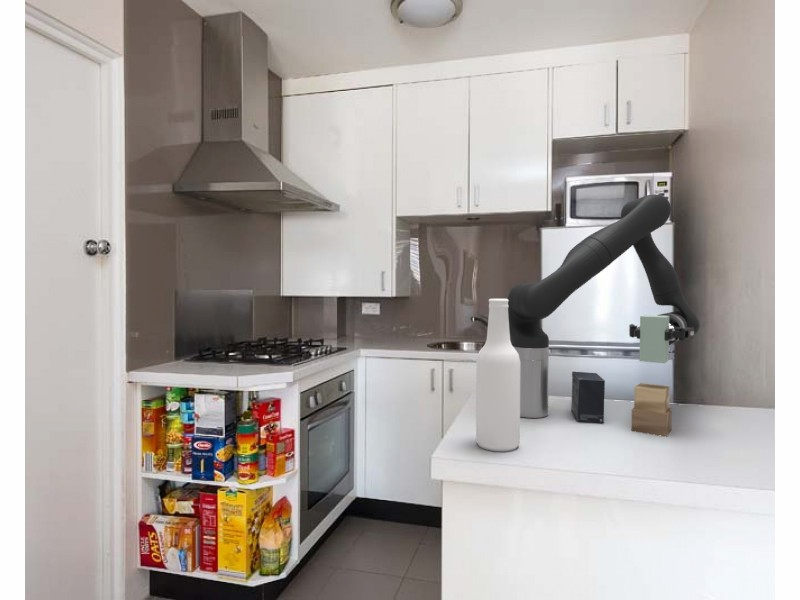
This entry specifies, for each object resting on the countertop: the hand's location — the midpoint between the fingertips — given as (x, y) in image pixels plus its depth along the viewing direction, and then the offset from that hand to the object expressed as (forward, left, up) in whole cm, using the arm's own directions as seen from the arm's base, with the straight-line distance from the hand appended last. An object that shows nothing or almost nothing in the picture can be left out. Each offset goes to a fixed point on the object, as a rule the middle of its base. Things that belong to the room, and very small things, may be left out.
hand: (652, 334), depth 106 cm
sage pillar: (+2, +2, -6) cm, 7 cm away
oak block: (+2, +2, -17) cm, 17 cm away
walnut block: (+2, +2, -22) cm, 22 cm away
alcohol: (-36, -3, -22) cm, 42 cm away
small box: (-7, +14, -22) cm, 27 cm away
